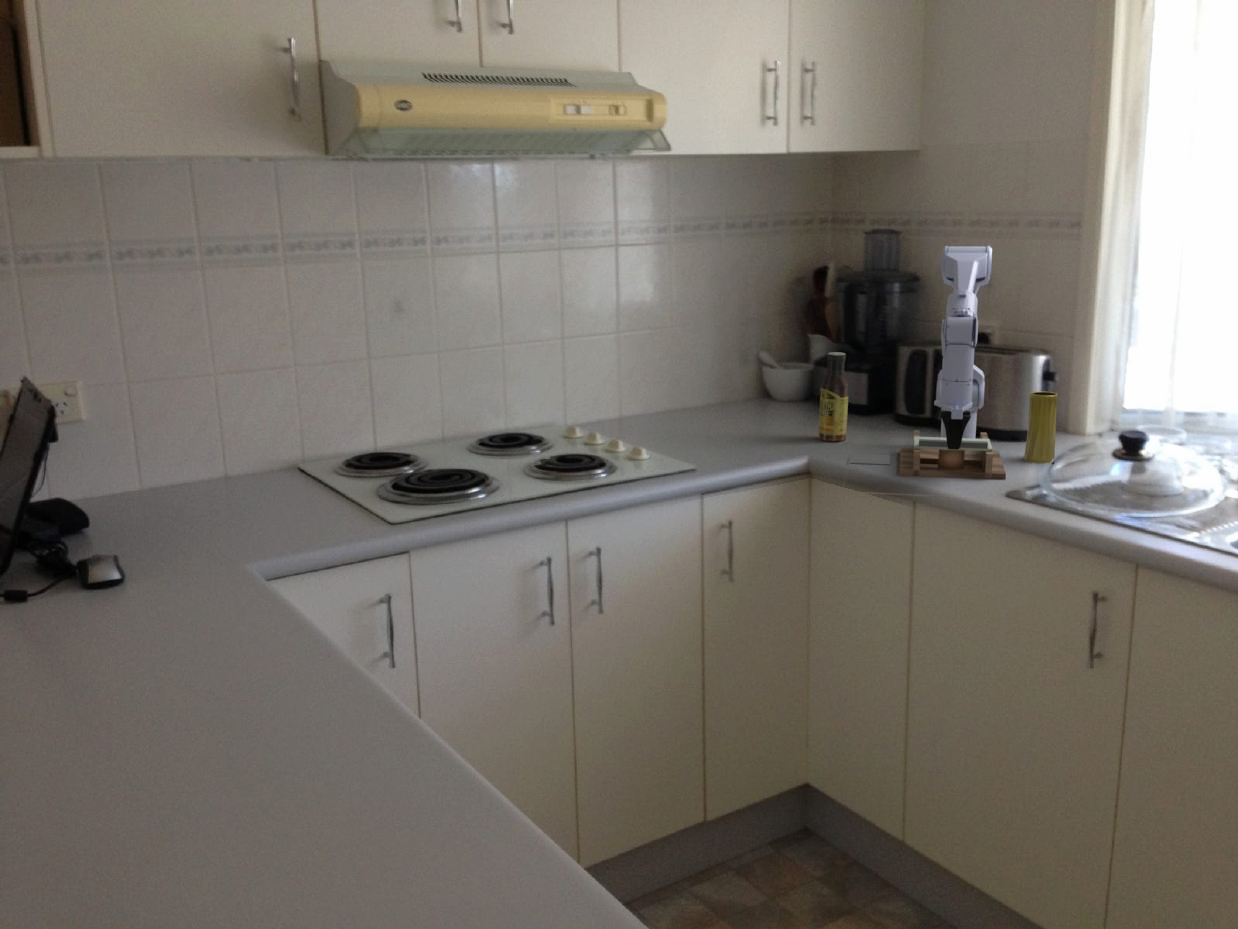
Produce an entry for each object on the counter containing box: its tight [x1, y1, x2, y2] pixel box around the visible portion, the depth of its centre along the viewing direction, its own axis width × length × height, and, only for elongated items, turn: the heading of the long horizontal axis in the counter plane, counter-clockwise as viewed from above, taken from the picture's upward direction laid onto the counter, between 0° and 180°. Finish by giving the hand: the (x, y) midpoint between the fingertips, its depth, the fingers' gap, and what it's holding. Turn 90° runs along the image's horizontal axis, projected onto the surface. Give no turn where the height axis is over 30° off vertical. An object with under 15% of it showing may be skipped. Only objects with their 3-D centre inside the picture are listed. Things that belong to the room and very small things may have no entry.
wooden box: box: [898, 430, 1007, 480], centre depth 234 cm, size 20×20×5 cm
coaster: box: [849, 453, 891, 466], centre depth 240 cm, size 8×8×1 cm
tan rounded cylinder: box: [938, 450, 965, 469], centre depth 231 cm, size 5×5×4 cm
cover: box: [914, 436, 993, 451], centre depth 230 cm, size 9×15×2 cm, turn 76°
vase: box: [1023, 390, 1058, 464], centre depth 236 cm, size 6×6×14 cm
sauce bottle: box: [818, 351, 850, 443], centre depth 259 cm, size 6×6×20 cm
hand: (953, 448), depth 223 cm, fingers closed
